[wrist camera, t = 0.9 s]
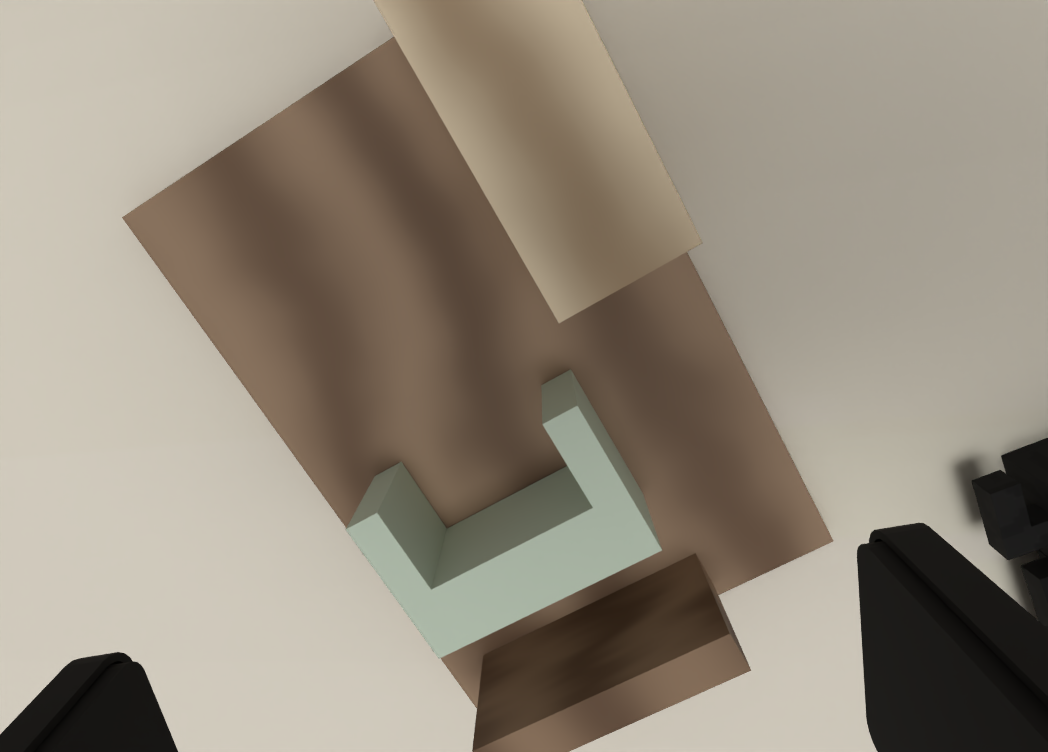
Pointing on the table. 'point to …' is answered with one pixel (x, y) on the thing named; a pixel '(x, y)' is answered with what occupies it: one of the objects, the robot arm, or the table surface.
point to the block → (509, 533)
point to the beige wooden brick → (548, 140)
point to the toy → (1020, 515)
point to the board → (482, 389)
